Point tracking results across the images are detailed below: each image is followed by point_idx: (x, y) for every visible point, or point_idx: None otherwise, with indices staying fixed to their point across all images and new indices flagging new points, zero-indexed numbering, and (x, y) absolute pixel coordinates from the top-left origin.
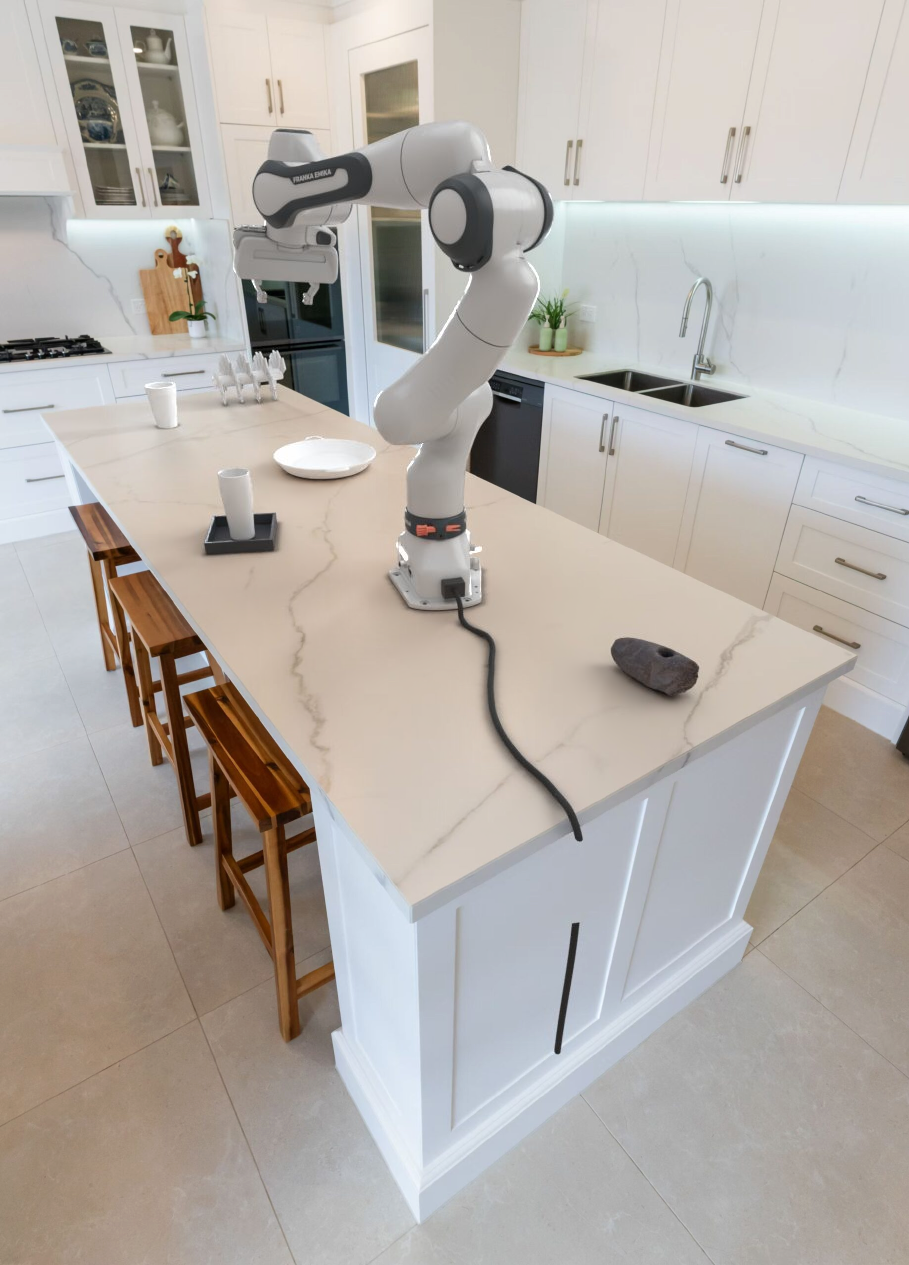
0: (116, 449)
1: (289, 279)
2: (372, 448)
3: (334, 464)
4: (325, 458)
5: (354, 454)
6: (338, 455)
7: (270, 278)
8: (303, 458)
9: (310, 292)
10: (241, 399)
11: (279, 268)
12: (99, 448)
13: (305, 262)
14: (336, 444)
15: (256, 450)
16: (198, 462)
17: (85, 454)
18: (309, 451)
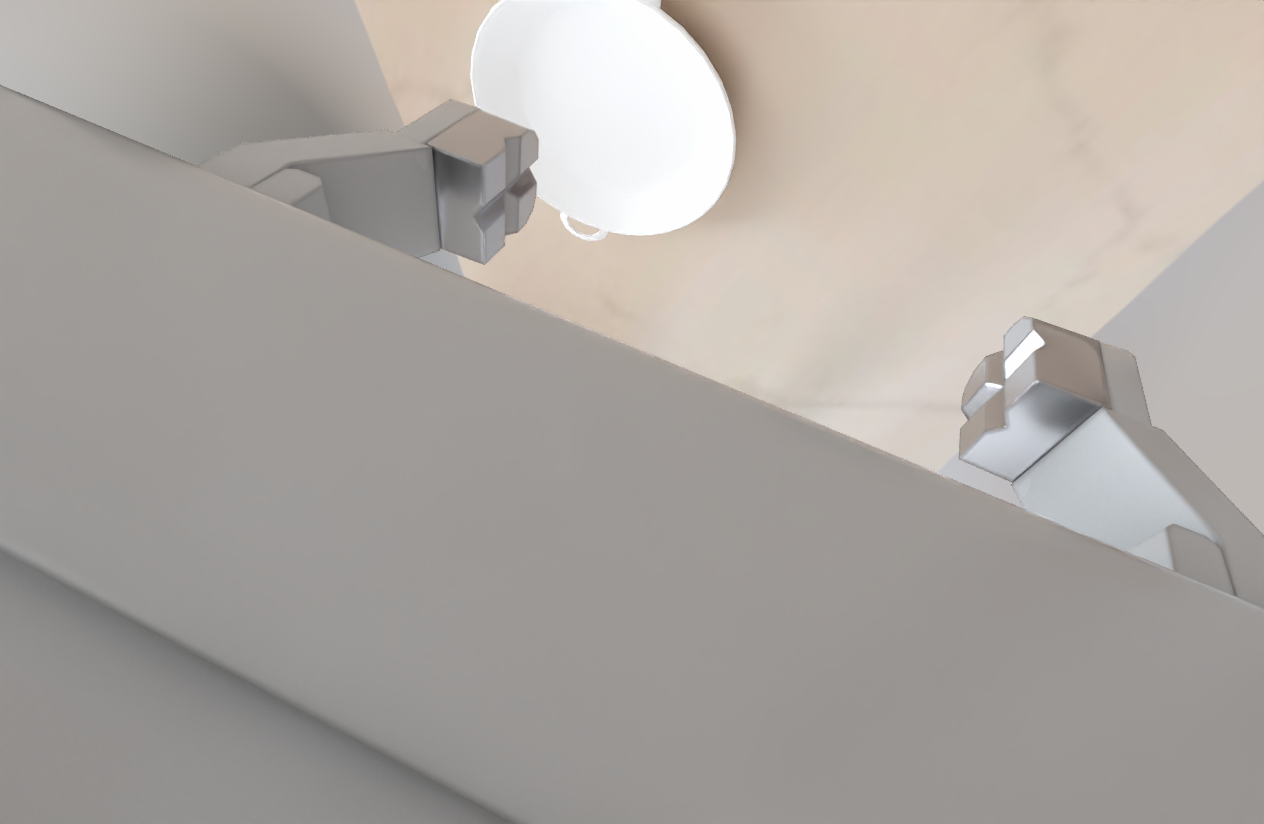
0: (890, 434)
1: (666, 380)
2: (474, 78)
3: (590, 97)
4: (592, 149)
5: (521, 117)
6: (557, 145)
7: (1083, 556)
8: (638, 183)
9: (397, 195)
10: None
11: (857, 688)
12: (907, 451)
13: (32, 535)
14: (544, 180)
15: (693, 288)
16: (828, 312)
17: (947, 449)
18: (611, 199)
